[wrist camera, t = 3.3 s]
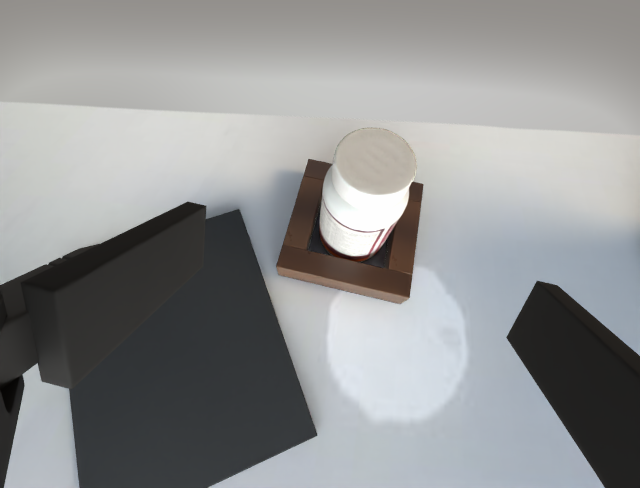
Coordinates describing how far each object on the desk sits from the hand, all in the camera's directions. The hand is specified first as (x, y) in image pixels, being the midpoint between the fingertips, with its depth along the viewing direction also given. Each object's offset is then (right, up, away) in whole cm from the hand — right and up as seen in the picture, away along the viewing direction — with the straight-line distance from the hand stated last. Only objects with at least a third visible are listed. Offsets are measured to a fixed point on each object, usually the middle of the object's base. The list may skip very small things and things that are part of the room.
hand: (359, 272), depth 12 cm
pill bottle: (+1, +2, +17) cm, 17 cm away
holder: (+1, +2, +17) cm, 17 cm away
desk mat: (-13, -7, +13) cm, 19 cm away
